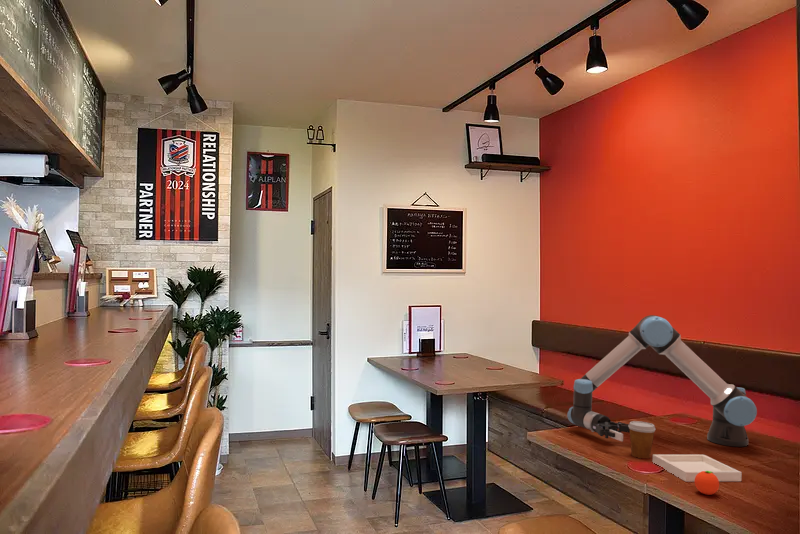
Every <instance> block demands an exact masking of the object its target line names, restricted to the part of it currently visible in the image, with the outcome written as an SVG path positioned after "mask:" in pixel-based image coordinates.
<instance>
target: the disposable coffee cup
mask: <svg viewBox="0 0 800 534" xmlns="http://www.w3.org/2000/svg"><path fill="white" fill-rule="evenodd" d="M628 424H629V425H628V427H629V429H630V433H629V437H630V438H629V439H630V450H631V456H632V457H634V458H636V457H638V458H637V459H641V458H648V459H650V458H651V453H652V445H653V440H654V435H655V432H656V430H657V429H656V427H655V424H653V423H652V422H651V423H650V422H646V421H641V420H640V421H639V420H638V421H637V420H633V421H630V422H629V423H628Z"/></svg>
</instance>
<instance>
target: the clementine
mask: <svg viewBox="0 0 800 534" xmlns="http://www.w3.org/2000/svg"><path fill="white" fill-rule="evenodd" d="M694 486H695V488H696V489H697V491H698V492H699V493H701V494H703V495H706V496H711V495H714V494H715V493H717V492H718V490H719V489H720V481H719V480H718V478H717V477H716V476H715V475H714V474H713V472H710V471H702V472H700V473H698V474H697V475H696V477H695V482H694Z"/></svg>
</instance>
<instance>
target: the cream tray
mask: <svg viewBox="0 0 800 534" xmlns="http://www.w3.org/2000/svg"><path fill="white" fill-rule="evenodd" d="M651 462H653V463H652V464H654V463H655V464H657V465H659V466H661V467H663V468H664V469H665V470H664V469H663V470H664V471H666V470H667V471H666V472H668V473H670V474H671V473H672V474H671V475H673V474H674V477H676V478H678V477H679V478H678V479H680V480H682V481H684V482H687V483H689V482H690V483H691V482H692V483H695V477H696V475H697V474H698V473H700V472H702V471H710V472H713V474H714V475H715V476H716V477H717V478H718V480H719V482H742V471H740V470H737V469H736V468H734V467H732V466H729V465H727V464H724V463H723V462H721V461H718V460H716V459H714V458H712V457H710V456H708V455H706V454H652V461H651ZM655 464H654V465H655ZM657 465H656V466H657ZM659 466H658V467H659ZM661 467H660V468H661Z"/></svg>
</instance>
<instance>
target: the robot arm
mask: <svg viewBox="0 0 800 534" xmlns="http://www.w3.org/2000/svg"><path fill="white" fill-rule="evenodd" d="M681 338H682V336H681V333H680V332H679V331H677V330H676V328H674V327H673V326H672V324H671V323H670V322H669V321H668V320H667V319H666V318H664V317H661V316H658V315H654V314H650V315H647V316H644V317H643V318H641V319H640V320H639V322H638V323H637V324H636V325H635V326H634V327H633V328H632V329H631V330H630V331H629V332H628V336H627V337H625V338H624V339H623V340H622V341H621V342H620V343H619V344H618V345H616V347H614V348H613V349H612V350H611V351H610V352H608V353H607V354H606V355H605V356H604V357H603V358H602V359H601V360H600V361H598V362H597V363H596V364H595V365H594V366H593V367H592V368H591V369H590V370H588V371H587V372H586V373H585V374H584V375H583V376H581V378H578V379H574V383H573V404H572V405H573V406H571V407H569V409H568V411H567V419H568V421H569V422H570V423H572V425H575V426H578V427H581V428H583V429H586V430H590V431H591V433H594V432H595V433H597V434H598V436H600V437H604V438H605V439H609V438H611V439H613V440H617V441H619V442H624V433H629V434H630V429H629V427H628V425H629V423H625V422H621V421H617V422H615V421H611V419H610V417H608V416H607V415H605V414H601V413H598V412H595V411H593V410H592V409H593V407H592V404H593V392H595V390H596V389H598V387H599V386H602V384H603V383H604V382H606V380H608V379H609V378H611V376H612V375H613V374H615V373H616V372H617V371H618V370H619V369H621V368H622V367H623V366H624V365H625V364H627V363H628V362H629V361H630V360H631V359H632V358H633V357H634V356H636V355H637V354H638V353H639V352H640V351H642V350H647V348H648V347H650V348H652V349H653V350H654V351H655V352H656V353H657V354H658V355H663V356H665V357H666V358H667V359H668V360H670V361H671V363H673V364H674V365H675V366H676V367H677V368H678V369H679V370H680V371H681V372H682V373H684V375H685V376H686V377H687V378H689V379H690V381H692V383H694V384H695V385H696V386H697V387H698V388H699V390H701V391H702V392H703V393H704V394H705V395H706V396H707V397H708V398H709V399H710V405H711V406H712V422H711V425H710V427H709V429H708V432H707V437H706V438H707V439H706V440H707V441H709V442H711V443H713V444H717V445H722V446H726V447H727V446H728V447H738V448H739V447H740V448H743V447H748V446H749V437H748V433H747V431H746V428H745V427H746V426H748V425H750V424H751V423H753V422H754V421H755V419H757V418H756V417H757V415H758V409H757V406H756V404H755V403H754V401H753V400H752V399H751V398H749V397H748V396H747V393H746V389H745V388H744V387H738V386H736V385H734V384H732V383H731V384H729V383H727V382H726V381H724V379H723V378H721V376H719V374H717V372H715V371H714V370H713V369H712V368H711V367H710V366H709V365H708V364H707V363H706V362H705V361H703V359H701V358H700V357H699V356H698V355H697V354H696V353H695V352H694V351H693V350H692V349H691V348H690V347H689V346H688V345H687V344H686V343H684V341H682V339H681ZM747 445H748V446H747Z"/></svg>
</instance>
